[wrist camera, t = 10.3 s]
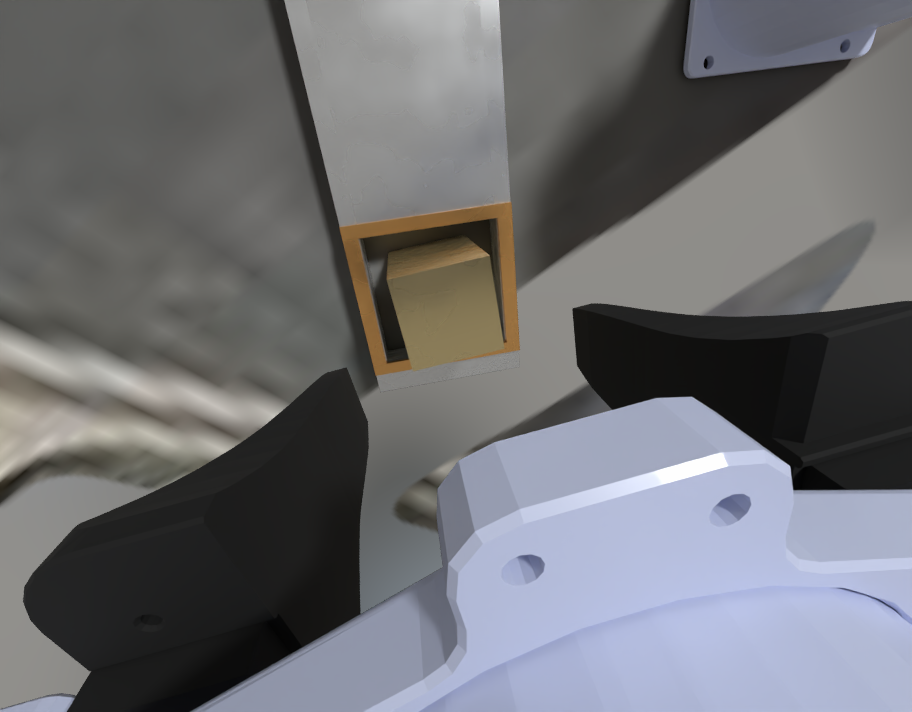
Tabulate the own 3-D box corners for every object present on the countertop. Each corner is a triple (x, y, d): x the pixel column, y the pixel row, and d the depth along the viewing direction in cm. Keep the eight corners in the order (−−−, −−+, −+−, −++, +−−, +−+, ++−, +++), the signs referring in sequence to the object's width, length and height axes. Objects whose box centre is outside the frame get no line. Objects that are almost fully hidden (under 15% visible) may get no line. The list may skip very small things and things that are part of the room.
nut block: (463, 234, 20) (489, 255, 15) (476, 306, 22) (504, 348, 16) (388, 252, 20) (386, 279, 14) (408, 323, 22) (412, 371, 16)
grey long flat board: (463, -386, 12) (473, -467, 10) (512, 356, 23) (520, 368, 22) (198, -380, 11) (168, -467, 10) (381, 379, 23) (380, 394, 21)
